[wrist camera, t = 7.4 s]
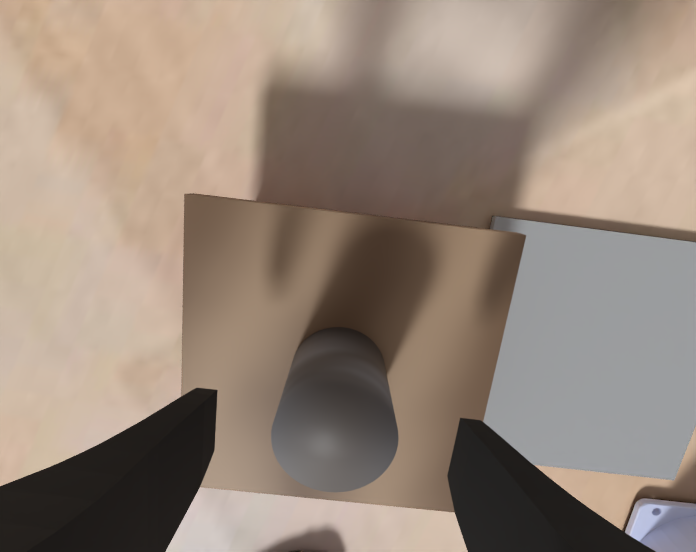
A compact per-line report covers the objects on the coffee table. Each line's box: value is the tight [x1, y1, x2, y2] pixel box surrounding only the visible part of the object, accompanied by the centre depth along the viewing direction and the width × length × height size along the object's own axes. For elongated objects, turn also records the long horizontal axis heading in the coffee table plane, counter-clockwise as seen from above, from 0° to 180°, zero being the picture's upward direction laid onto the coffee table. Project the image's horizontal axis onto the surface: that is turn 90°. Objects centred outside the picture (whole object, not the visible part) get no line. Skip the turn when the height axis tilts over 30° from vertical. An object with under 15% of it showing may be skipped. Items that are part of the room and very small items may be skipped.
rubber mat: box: [483, 216, 696, 480], centre depth 19 cm, size 13×13×1 cm
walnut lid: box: [181, 194, 526, 512], centre depth 13 cm, size 12×12×5 cm
